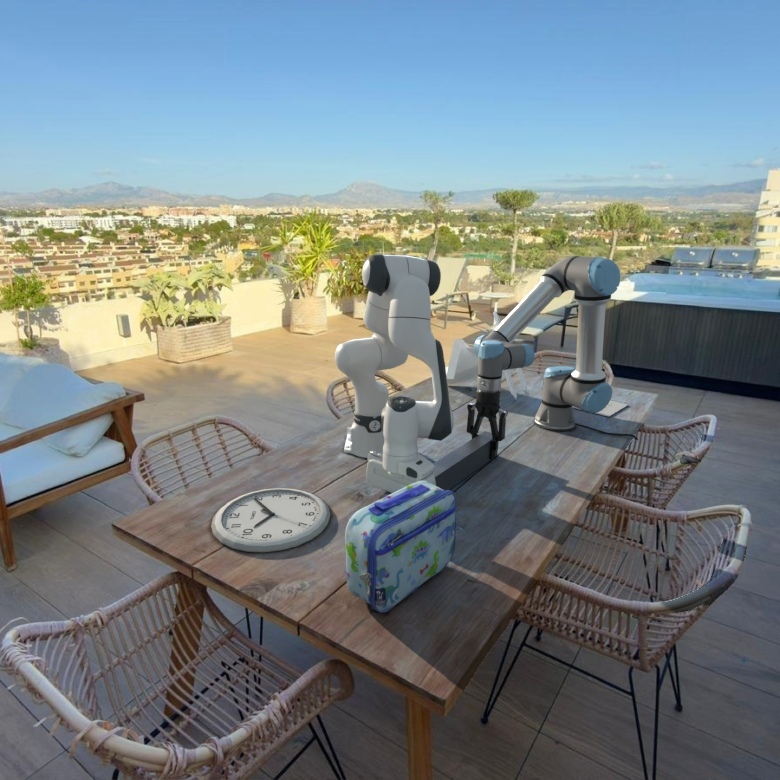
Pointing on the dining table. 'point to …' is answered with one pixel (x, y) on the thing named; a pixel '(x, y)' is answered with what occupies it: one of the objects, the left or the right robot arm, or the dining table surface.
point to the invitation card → (610, 408)
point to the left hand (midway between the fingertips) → (398, 508)
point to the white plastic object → (474, 365)
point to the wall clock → (270, 520)
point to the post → (461, 462)
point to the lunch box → (399, 543)
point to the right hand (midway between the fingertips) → (483, 455)
